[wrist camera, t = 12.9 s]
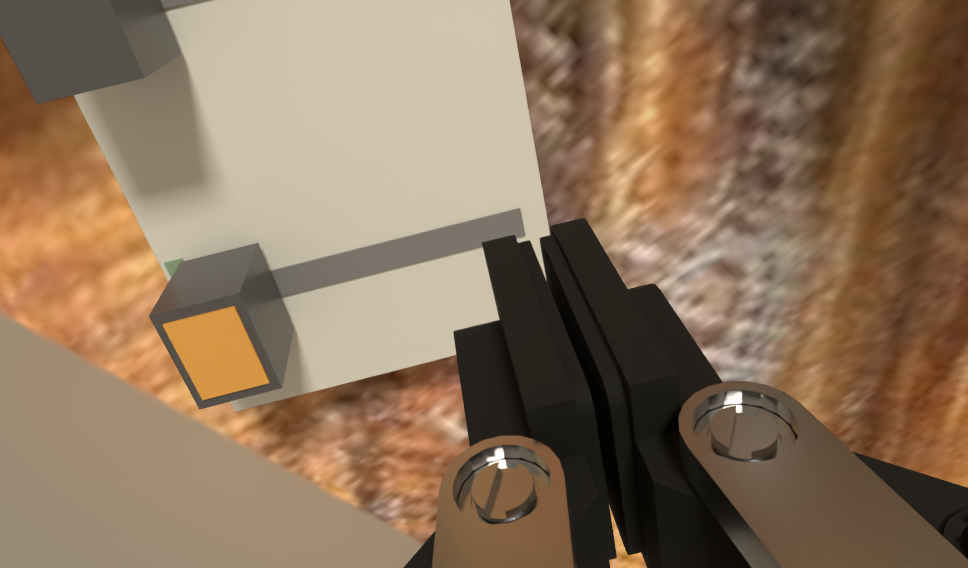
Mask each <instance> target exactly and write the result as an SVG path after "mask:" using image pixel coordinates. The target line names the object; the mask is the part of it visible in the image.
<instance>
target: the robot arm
mask: <svg viewBox="0 0 968 568" xmlns="http://www.w3.org/2000/svg"><path fill="white" fill-rule="evenodd" d="M550 232H551V235H549V236H544V237H540V246H541V252H542V258H543V263H544V269H545V274H546V279H545V276H544V274H543V271H542V269H541V266H540V264H539V261H538V259H537V256H536V254H535V251H534V249H533V246H532V244H531V242H530V240H528V241H524V242H519V243H518V242H517V239H516V236H515V235H510V236H506V237H502V238H498V239H494V240H489V241H485V242H482V246H483V251H484V255H485V259H486V264H487V268H488V272H489V277H490V281H491V285H492V290H493V294H494V298H495V303H496V307H497V311H498V316H499V320H497V321H493V322H489V323H485V324H480V325H476V326H472V327H468V328H464V329H460V330H455V331H454V332H453V334H454V342H455V348H456V355H457V362H458V369H459V375H460V382H461V389H462V396H463V402H464V409H465V416H466V423H467V429H468V436H469V443H470V447H469V448H467V449H466V450H464V451H463V452H462V453H461V454H460V455H459V456H457V457H456V458H455V459H454V460H453V461H452V463H451V464H450V466H449V467H448V469H447V470H446V472H445V473H444V475H443V479H442V483H441V486H440V490H439V500H438V510H437V521H436V531H435V532H434V533H433V534H432V535H431V536H430V538H429V539H428V540H427V541H426V542H425V543H424V545H423V546H422V547H421V548H420V549H419V550H418V552H417V553H416V554H415V555H414V556H413V557H412V559H411V560H410V561H409V562H408V563H407V564H406V566H405V567H404V568H610V564H609V560H611V559H615V558H616V557H617V556H616V549H615V542H614V535H613V529H612V522H611V515H610V509H609V505H610V508H611V511H612V513H613V516H614V519H615V522H616V525H617V527H618V530H619V533H620V536H621V538H622V541H623V544H624V547H625V549H626V552H627V554H628V555H631V554H636V553H640V552H641V553H642V555H643V558H644V560H645V563H646V566H647V568H968V488H966V487H963V486H960V485H957V484H953V483H950V482H947V481H944V480H941V479H937V478H934V477H931V476H928V475H925V474H921V473H918V472H915V471H912V470H909V469H906V468H902V467H899V466H896V465H893V464H890V463H886V462H883V461H880V460H877V459H874V458H871V457H867V456H864V455H861V454H858V453H855V452H852V451H851V450H850V449H849V448H847V447H846V446H845V445H844V444H843V443H842V442H841V441H840V440H839V439H838V438H837V437H836V436H835V435H834V434H832V433H831V432H830V431H829V430H828V429H827V428H826V427H825V426H824V425H823V424H822V423H821V422H820V421H818V420H817V419H816V418H815V417H814V416H813V415H812V414H811V413H810V412H809V411H808V410H807V409H806V408H805V407H803V406H802V405H801V404H800V403H799V402H798V401H796V400H795V399H793V398H792V397H790V396H789V395H788V394H786V393H785V392H783V391H780V390H778V389H775V388H773V387H770V386H768V385H764V384H758V383H753V382H747V381H739V382H722V381H721V379H720V378H719V376H718V375H717V373H716V372H715V370H714V369H713V367H712V366H711V364H710V363H709V361H708V360H707V359H706V357H705V356H704V354H703V353H702V351H701V350H700V348H699V347H698V345H697V344H696V342H695V341H694V339H693V338H692V336H691V335H690V333H689V332H688V330H687V329H686V327H685V326H684V324H683V323H682V322H681V320H680V319H679V317H678V316H677V314H676V313H675V311H674V310H673V308H672V307H671V305H670V304H669V302H668V301H667V299H666V298H665V296H664V295H663V293H662V292H661V290H660V289H659V288H658V287H657V286H656V285H655V284H648V285H643V286H639V287H635V288H631V289H627V288H626V286H625V284H624V283H623V281H622V279H621V277H620V276H619V274H618V272H617V271H616V269H615V267H614V266H613V264H612V262H611V261H610V259H609V257H608V256H607V254H606V252H605V251H604V249H603V247H602V246H601V244H600V242H599V241H598V239H597V237H596V236H595V234H594V232H593V230H592V229H591V227H590V225H589V224H588V222H587V220H586V219H585V218H582V219H577V220H573V221H569V222H565V223H561V224H556V225H552V226H551V227H550ZM546 280H547V281H546Z"/></svg>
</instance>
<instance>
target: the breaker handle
mask: <svg viewBox="0 0 968 568" xmlns="http://www.w3.org/2000/svg"><path fill="white" fill-rule="evenodd" d="M0 37H1V38H2V40H3V42H4V44H5V46H6V48H7V50H8V51H9V53H10V55H11V57H12V59H13V61H14V62H15V64H16V66H17V68H18V70H19V72H20V74H21V75H22V77H23V79H24V81H25V83H26V85H27V87H28V88H29V90H30V92H31V94H32V96H33V98H34V100H35V101H36V103H37V104H39V103H43V102H48V101H52V100H56V99H60V98H64V97H68V96H72V95H76V94H81V93H85V92H89V91H93V90H97V89H101V88H105V87H110V86H114V85H118V84H122V83H126V82H130V81H134V80H138V79H143V78H145V77H147V76H149V75H150V74H152V73H153V72H155V71H156V70H158V69H159V68H161V67H162V66H164V65H166V64H167V63H169V62H170V61H172V60H173V59H175V58H176V57H178V56H179V55H181V51H180V49H179V47H178V44H177V42H176V39H175V37H174V35H173V32H172V30H171V27H170V25H169V23H168V20H167V18H166V15H165V13H164V10H163V8H162V6H161V3H160V1H159V0H0Z"/></svg>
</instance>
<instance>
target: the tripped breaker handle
mask: <svg viewBox="0 0 968 568" xmlns="http://www.w3.org/2000/svg"><path fill="white" fill-rule="evenodd" d="M149 317H150V319H151V321H152V323H153V324H154V326H155V328H156V330H157V332H158V334H159V336H160V337H161V339H162V341H163V343H164V345H165V347H166V348H167V350H168V352H169V354H170V356H171V358H172V360H173V361H174V363H175V365H176V367H177V369H178V371H179V372H180V374H181V376H182V378H183V380H184V382H185V384H186V385H187V387H188V389H189V391H190V393H191V395H192V396H193V398H194V400H195V402H196V404H197V406H198V408H199V409H203V408H207V407H210V406H214V405H218V404H222V403H226V402H230V401H234V400H238V399H242V398H246V397H249V396H253V395H257V394H261V393H265V392H269V391H273V390H277V389H281V388H282V387H283V382H284V377H285V372H286V367H287V362H288V357H289V352H290V347H291V342H292V337H293V332H294V327H293V325H292V323H291V320H290V318H289V315H288V313H287V311H286V308H285V306H284V303H283V301H282V299H281V296H280V294H279V291H278V289H277V287H276V284H275V282H274V279H273V277H272V275H271V272H270V270H269V268H268V265H267V263H266V260H265V258H264V256H263V253H262V251H261V248H260V246H259V244H258V243H255V244H251V245H247V246H243V247H239V248H235V249H231V250H227V251H223V252H219V253H215V254H211V255H207V256H203V257H199V258H195V259H191V260H187V261H183V262H180V264H179V265H178V267H177V269H176V271H175V272H174V274H173V276H172V277H171V279H170V281H169V283H168V284H167V286H166V288H165V289H164V291H163V293H162V294H161V296H160V298H159V300H158V301H157V303H156V305H155V306H154V308H153V310H152V312H151V313H150V315H149Z"/></svg>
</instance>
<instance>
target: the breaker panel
mask: <svg viewBox="0 0 968 568" xmlns="http://www.w3.org/2000/svg"><path fill="white" fill-rule="evenodd" d="M159 1H160V3H161V6H162V8H163V10H164V13H165V15H166V18H167V20H168V23H169V25H170V27H171V30H172V32H173V35H174V37H175V39H176V42H177V44H178V47H179V49H180V51H181V55H179V56H178V57H176V58H175V59H173V60H172V61H170V62H169V63H167V64H166V65H164V66H162V67H161V68H159V69H158V70H156V71H155V72H153V73H152V74H150V75H149V76H147V77H145V78H143V79H138V80H134V81H130V82H126V83H122V84H118V85H114V86H110V87H105V88H101V89H97V90H93V91H89V92H85V93H81V94H76V95H74V97H75V99H76V101H77V103H78V105H79V107H80V109H81V111H82V113H83V115H84V117H85V119H86V121H87V123H88V125H89V127H90V129H91V130H92V132H93V134H94V136H95V138H96V140H97V142H98V144H99V146H100V148H101V150H102V152H103V154H104V156H105V158H106V160H107V162H108V164H109V166H110V168H111V170H112V172H113V174H114V176H115V178H116V180H117V182H118V184H119V185H120V187H121V189H122V191H123V193H124V195H125V197H126V199H127V201H128V203H129V205H130V207H131V209H132V211H133V213H134V215H135V217H136V219H137V221H138V223H139V225H140V227H141V229H142V231H143V233H144V235H145V237H146V239H147V240H148V242H149V244H150V246H151V248H152V250H153V252H154V254H155V256H156V258H157V260H158V262H159V264H160V266H161V268H162V270H163V272H164V274H165V276H166V278H167V280H168V282H169V281H170V279H171V277H172V276H173V274H174V272H175V271H176V269H177V267H178V265H179V264H180V262H183V261H187V260H191V259H195V258H199V257H203V256H207V255H211V254H215V253H219V252H223V251H227V250H231V249H235V248H239V247H243V246H247V245H251V244H255V243H258V244H259V246H260V248H261V251H262V253H263V256H264V258H265V260H266V263H267V265H268V268H269V270H270V272H271V275H272V277H273V279H274V282H275V284H276V287H277V289H278V291H279V294H280V296H281V299H282V301H283V303H284V306H285V308H286V311H287V313H288V315H289V318H290V320H291V323H292V325H293V327H294V332H293V337H292V342H291V347H290V352H289V357H288V362H287V367H286V372H285V377H284V382H283V387H282V388H281V389H277V390H273V391H269V392H265V393H261V394H257V395H253V396H249V397H246V398H242V399H238V400H234V401H230V404H231V405H232V407H233V409H234V411H235V412H236V411H240V410H244V409H248V408H252V407H255V406H259V405H263V404H267V403H271V402H275V401H279V400H283V399H287V398H290V397H294V396H298V395H302V394H306V393H310V392H314V391H318V390H322V389H326V388H329V387H333V386H337V385H341V384H345V383H349V382H353V381H357V380H361V379H364V378H368V377H372V376H376V375H380V374H384V373H388V372H392V371H396V370H400V369H403V368H407V367H411V366H415V365H419V364H423V363H427V362H431V361H435V360H438V359H442V358H446V357H450V356H454V355H456V348H455V342H454V334H453V332H454V331H455V330H460V329H464V328H468V327H472V326H476V325H480V324H485V323H489V322H493V321H497V320H499V316H498V311H497V307H496V303H495V298H494V294H493V290H492V285H491V281H490V277H489V272H488V268H487V264H486V259H485V255H484V251H483V246H482V242H485V241H489V240H494V239H498V238H502V237H506V236H510V235H515V236H516V239H517V242H518V243H519V242H524V241H528V240H530V242H531V244H532V246H533V249H534V251H535V254H536V256H537V259H538V261H539V264H540V266H541V269H542V271H543V274H544V276H545V279H546V274H545V269H544V263H543V258H542V252H541V246H540V237H544V236H549V235H550V232H549V226H548V221H547V215H546V209H545V203H544V198H543V192H542V186H541V180H540V175H539V169H538V163H537V157H536V152H535V146H534V140H533V134H532V129H531V123H530V117H529V111H528V106H527V100H526V94H525V88H524V83H523V77H522V71H521V65H520V60H519V54H518V48H517V42H516V37H515V31H514V25H513V19H512V14H511V8H510V2H509V0H159ZM546 281H547V280H546Z"/></svg>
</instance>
